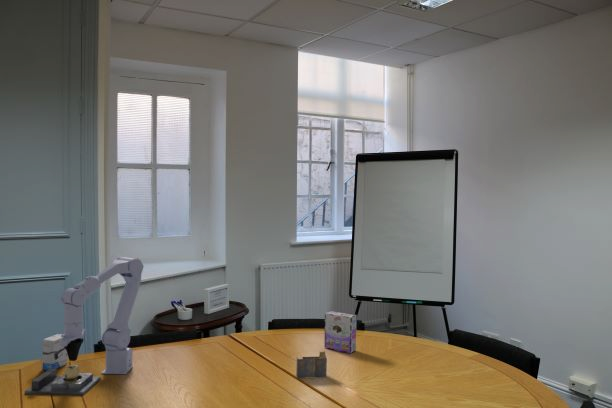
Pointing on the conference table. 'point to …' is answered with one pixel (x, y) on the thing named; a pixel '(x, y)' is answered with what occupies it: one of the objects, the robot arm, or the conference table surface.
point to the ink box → (53, 353)
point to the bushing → (72, 373)
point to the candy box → (340, 331)
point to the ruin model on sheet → (312, 366)
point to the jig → (61, 384)
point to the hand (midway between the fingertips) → (73, 360)
